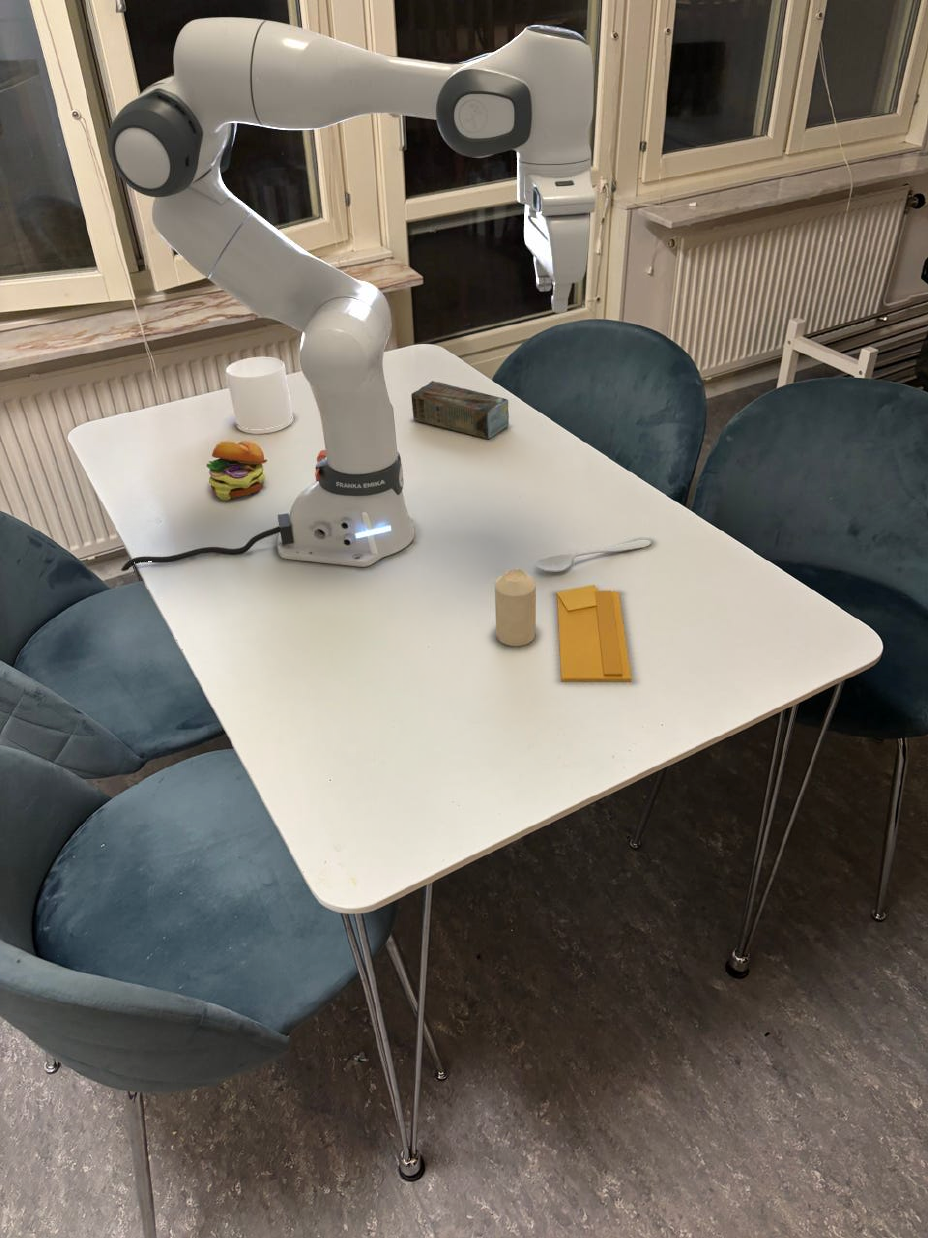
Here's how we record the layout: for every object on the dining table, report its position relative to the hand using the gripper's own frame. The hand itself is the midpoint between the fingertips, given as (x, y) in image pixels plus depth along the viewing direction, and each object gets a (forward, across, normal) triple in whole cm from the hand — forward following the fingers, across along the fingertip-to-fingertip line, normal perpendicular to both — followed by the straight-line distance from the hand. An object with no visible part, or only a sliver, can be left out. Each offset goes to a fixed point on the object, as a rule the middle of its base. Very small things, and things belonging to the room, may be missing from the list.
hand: (551, 300), depth 118 cm
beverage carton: (+40, -54, -6) cm, 68 cm away
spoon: (+40, +1, +7) cm, 41 cm away
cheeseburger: (+41, -36, -50) cm, 73 cm away
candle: (+40, +18, -8) cm, 45 cm away
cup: (+41, -65, -46) cm, 89 cm away
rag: (+40, +20, +2) cm, 45 cm away
